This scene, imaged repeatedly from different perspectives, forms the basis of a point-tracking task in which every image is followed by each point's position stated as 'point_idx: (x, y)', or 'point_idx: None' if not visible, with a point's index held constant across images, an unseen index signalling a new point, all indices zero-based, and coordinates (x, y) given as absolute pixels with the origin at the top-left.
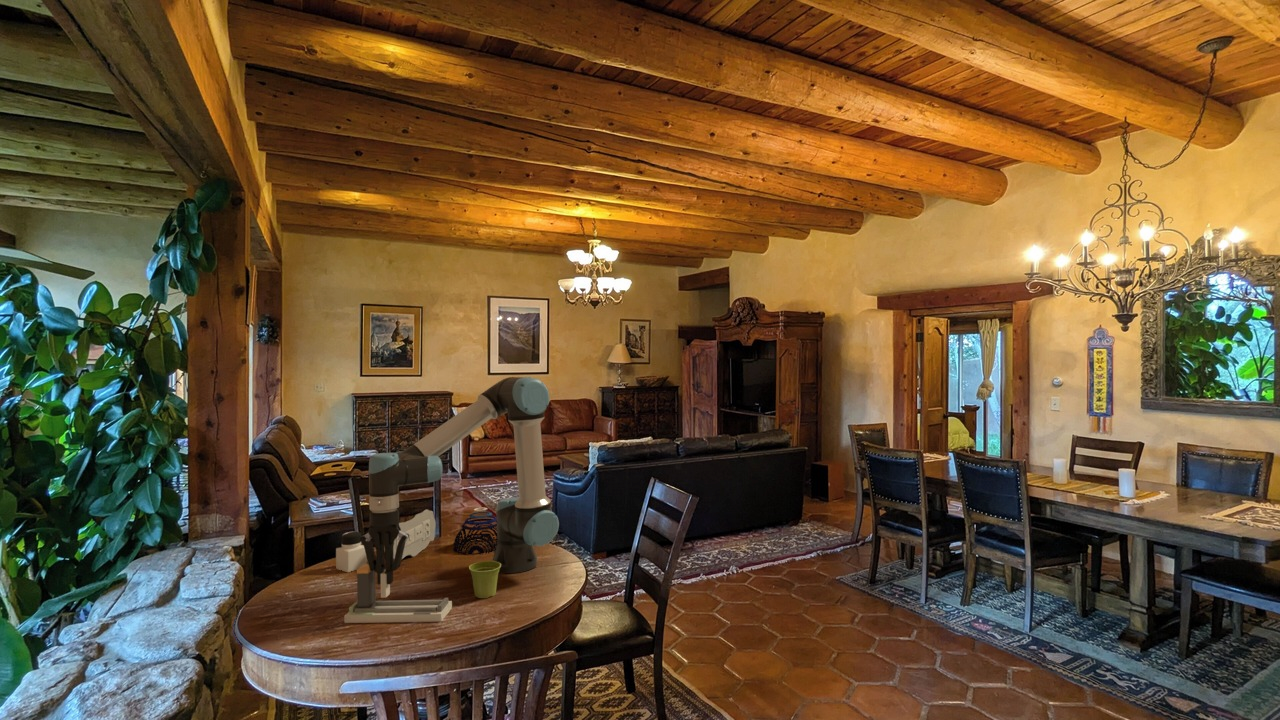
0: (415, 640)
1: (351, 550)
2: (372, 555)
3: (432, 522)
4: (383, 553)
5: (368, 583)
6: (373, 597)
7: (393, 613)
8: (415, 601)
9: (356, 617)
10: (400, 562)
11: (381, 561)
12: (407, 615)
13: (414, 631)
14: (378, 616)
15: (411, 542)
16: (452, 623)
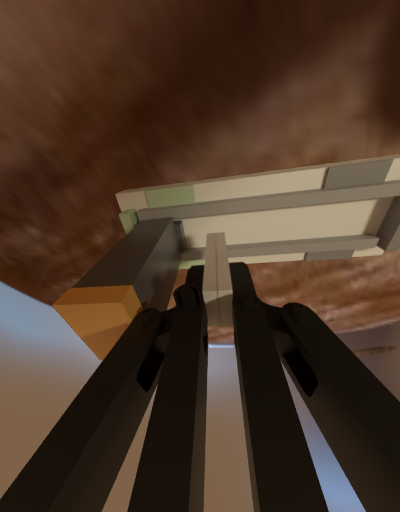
0: (315, 310)
1: None
2: (117, 446)
3: None
4: (196, 456)
5: (168, 303)
6: (173, 236)
7: (251, 257)
8: (303, 205)
9: None
10: (336, 344)
11: (205, 391)
12: (288, 259)
13: (307, 285)
14: None
15: None
16: (394, 252)
